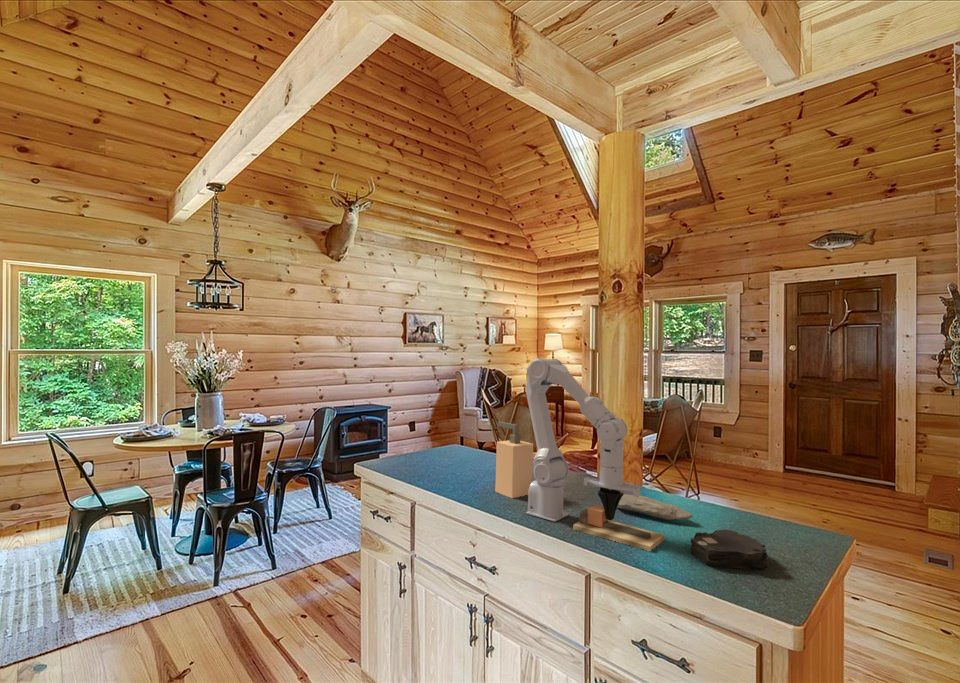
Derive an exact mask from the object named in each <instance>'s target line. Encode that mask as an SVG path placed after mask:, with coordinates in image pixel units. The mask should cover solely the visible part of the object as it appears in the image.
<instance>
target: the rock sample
mask: <svg viewBox="0 0 960 683" xmlns="http://www.w3.org/2000/svg"><path fill="white" fill-rule="evenodd" d="M690 544H691V545H690V554H691V556H693V557H694V556H695V557H694V558H696V559H697V560H698V559H699V560H700V561H699V560H698V561H699V562H701V563H703V564H704V565H705V566H709V567H715V568H716V567H718V568H724V569H725V568H729V569H742V570H750V569H757V570H758V569H761V570H762V569H765V568H766V567H768V565H767V564H768V556H769V555H768V552H767V548H766V545H764V544H763V543H761V542H760V541H758V540H757V539H756V538H752V537H751V536H750V535H746V534H741V533H739V532H738V531H735V530H731V529H717V530H714V531H713V532H712V533H711V532H710V533H708V532H695V534H694V536H693V537H692V538H690Z"/></svg>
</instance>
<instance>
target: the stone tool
mask: <svg viewBox="0 0 960 683" xmlns="http://www.w3.org/2000/svg"><path fill="white" fill-rule="evenodd" d="M617 509H620V510H626V511H629V512H630V511H631V512H636V513H640V514H646V515H649V516H652V517H653V518H656V519H660V520H665V521H675V520H690V519H692V518H693V517H694V516H693V515H692V514H691V513H690V512H689V511H687V510H685V509H682V508H680V507H679V506H677V505H674V504H670V503H666V502H662V501H660V500H657V499H654V498H651V497H647V496H644V495H641V494H640V496H638V497H634V496H633V495H629V494H623V496H622V498H621V500H620V502H619V504H618V506H617Z"/></svg>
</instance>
